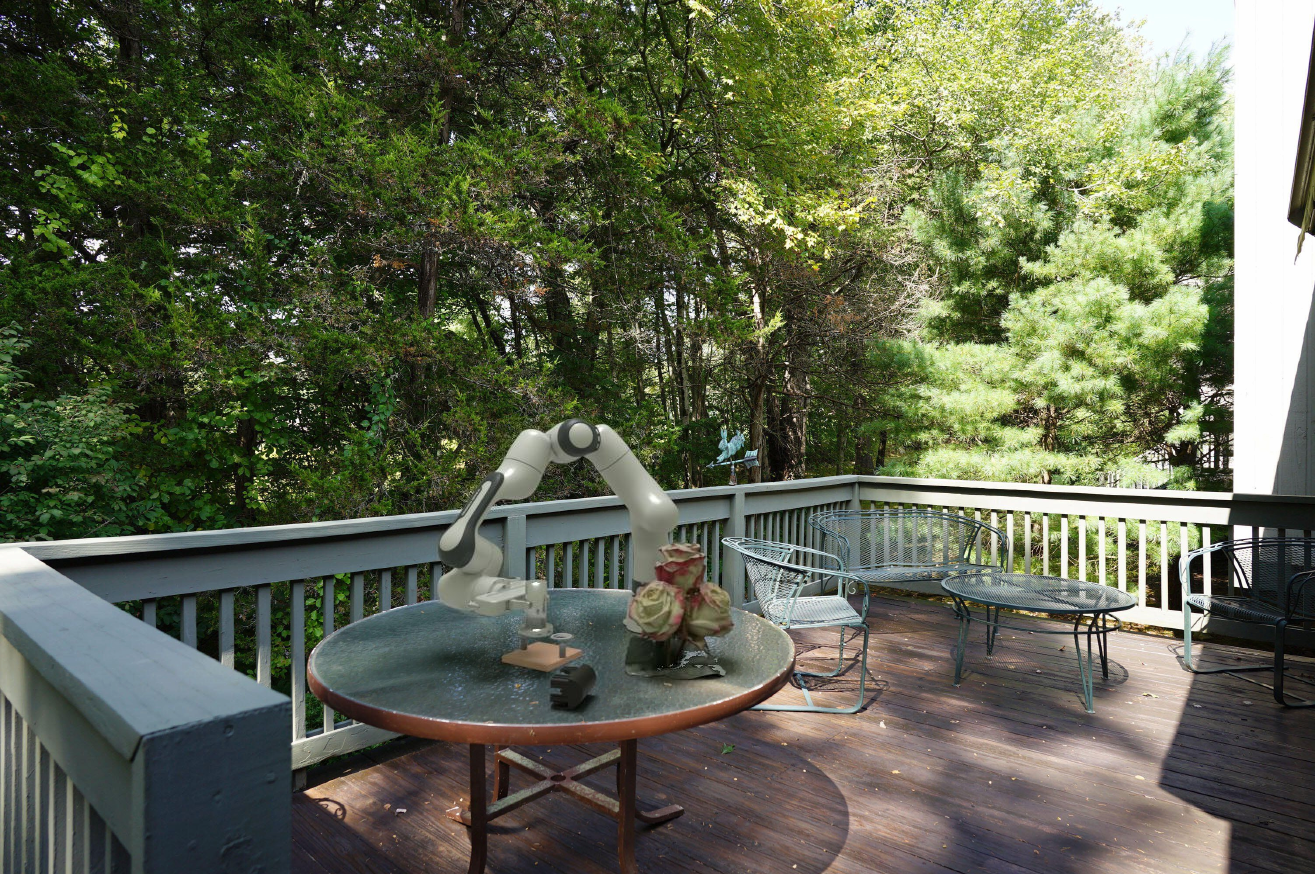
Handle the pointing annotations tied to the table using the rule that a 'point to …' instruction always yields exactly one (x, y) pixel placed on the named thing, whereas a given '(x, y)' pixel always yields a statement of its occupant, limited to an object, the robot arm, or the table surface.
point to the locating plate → (541, 655)
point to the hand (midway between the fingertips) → (539, 602)
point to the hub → (536, 611)
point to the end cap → (572, 686)
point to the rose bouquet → (677, 616)
